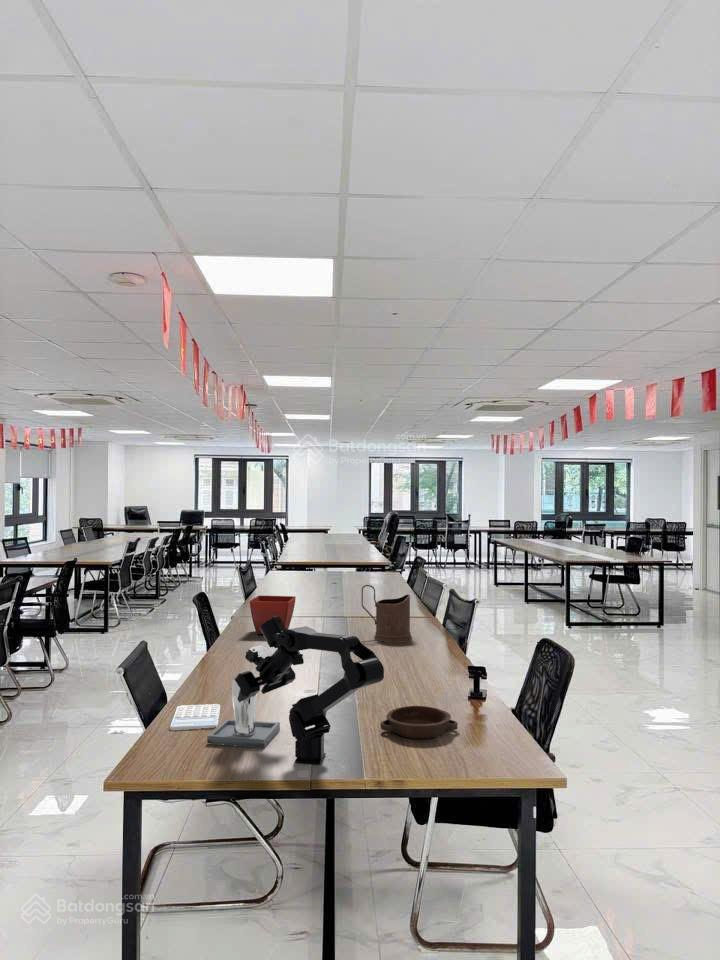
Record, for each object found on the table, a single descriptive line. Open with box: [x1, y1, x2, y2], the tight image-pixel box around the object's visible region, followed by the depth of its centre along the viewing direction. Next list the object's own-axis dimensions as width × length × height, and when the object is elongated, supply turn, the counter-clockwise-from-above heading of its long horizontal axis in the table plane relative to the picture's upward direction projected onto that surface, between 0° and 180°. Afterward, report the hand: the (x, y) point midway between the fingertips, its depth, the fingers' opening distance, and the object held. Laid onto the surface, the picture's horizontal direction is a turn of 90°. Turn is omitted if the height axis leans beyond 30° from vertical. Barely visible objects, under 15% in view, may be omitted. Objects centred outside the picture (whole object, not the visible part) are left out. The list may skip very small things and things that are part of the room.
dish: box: [379, 705, 459, 740], centre depth 196 cm, size 18×22×5 cm
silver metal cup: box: [231, 675, 258, 737], centre depth 191 cm, size 7×7×15 cm
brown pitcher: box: [361, 584, 413, 643], centre depth 323 cm, size 18×24×25 cm
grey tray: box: [206, 718, 281, 749], centre depth 191 cm, size 16×14×2 cm
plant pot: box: [249, 595, 297, 635], centre depth 334 cm, size 19×19×17 cm
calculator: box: [169, 703, 221, 731], centre depth 207 cm, size 13×20×2 cm, turn 9°
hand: (250, 696), depth 190 cm, fingers open, 9 cm apart
